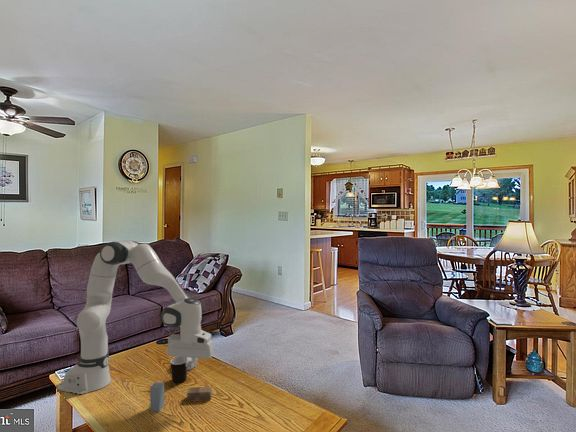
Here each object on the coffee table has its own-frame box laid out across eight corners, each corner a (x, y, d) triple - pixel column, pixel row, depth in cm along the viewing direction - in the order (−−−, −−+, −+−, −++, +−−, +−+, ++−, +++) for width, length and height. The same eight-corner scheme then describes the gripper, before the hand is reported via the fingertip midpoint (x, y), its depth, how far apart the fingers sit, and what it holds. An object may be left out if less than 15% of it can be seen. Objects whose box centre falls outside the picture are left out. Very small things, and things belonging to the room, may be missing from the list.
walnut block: (187, 392, 142) (210, 391, 143) (189, 387, 146) (211, 386, 147) (187, 401, 142) (210, 400, 143) (188, 396, 146) (211, 395, 147)
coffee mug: (182, 386, 154) (182, 365, 154) (166, 384, 156) (166, 363, 156) (194, 374, 165) (194, 354, 165) (179, 372, 167) (179, 353, 167)
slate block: (150, 410, 135) (150, 387, 135) (155, 405, 139) (155, 382, 139) (159, 411, 134) (159, 387, 134) (164, 405, 138) (164, 382, 138)
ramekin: (201, 362, 178) (201, 353, 178) (192, 372, 167) (192, 362, 167) (182, 360, 180) (182, 351, 180) (172, 370, 169) (172, 360, 169)
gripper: (164, 336, 142) (163, 367, 142) (210, 340, 140) (209, 371, 140) (171, 331, 148) (170, 361, 148) (214, 334, 146) (213, 365, 146)
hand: (189, 366), depth 144 cm, fingers closed
